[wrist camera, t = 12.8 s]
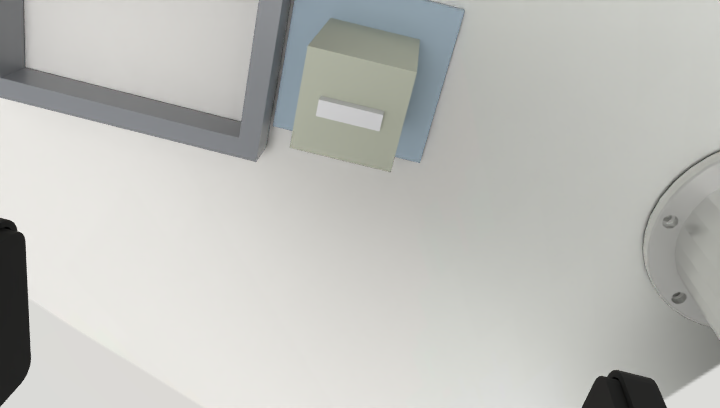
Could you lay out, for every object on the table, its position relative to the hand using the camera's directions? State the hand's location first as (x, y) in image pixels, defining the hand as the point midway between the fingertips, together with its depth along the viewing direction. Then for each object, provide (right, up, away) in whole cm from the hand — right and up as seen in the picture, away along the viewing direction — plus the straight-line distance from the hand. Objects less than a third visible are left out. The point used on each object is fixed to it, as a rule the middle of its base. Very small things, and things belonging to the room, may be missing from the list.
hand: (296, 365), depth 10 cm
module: (+1, +10, +25) cm, 27 cm away
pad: (+1, +10, +26) cm, 28 cm away
